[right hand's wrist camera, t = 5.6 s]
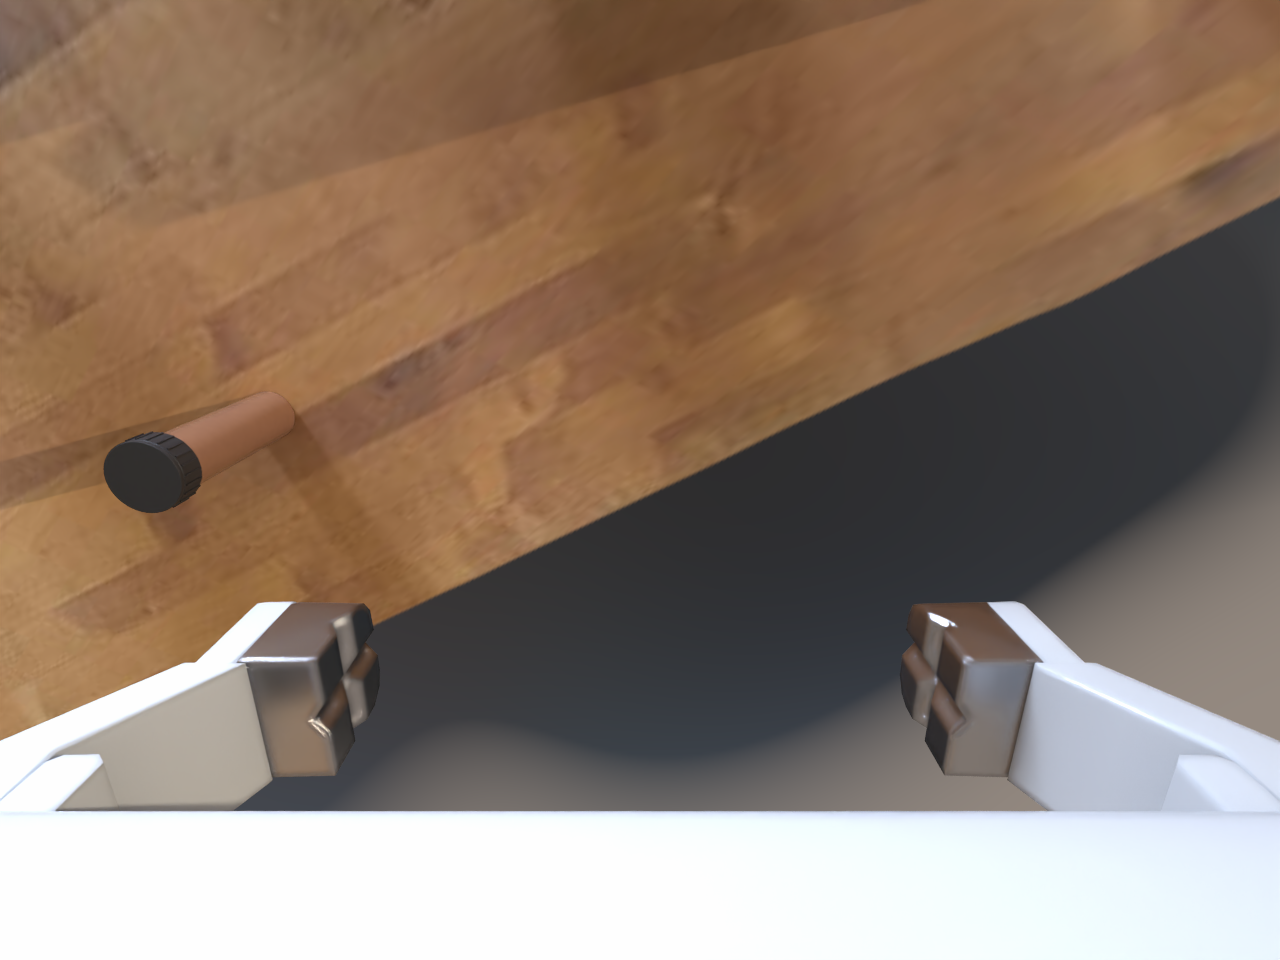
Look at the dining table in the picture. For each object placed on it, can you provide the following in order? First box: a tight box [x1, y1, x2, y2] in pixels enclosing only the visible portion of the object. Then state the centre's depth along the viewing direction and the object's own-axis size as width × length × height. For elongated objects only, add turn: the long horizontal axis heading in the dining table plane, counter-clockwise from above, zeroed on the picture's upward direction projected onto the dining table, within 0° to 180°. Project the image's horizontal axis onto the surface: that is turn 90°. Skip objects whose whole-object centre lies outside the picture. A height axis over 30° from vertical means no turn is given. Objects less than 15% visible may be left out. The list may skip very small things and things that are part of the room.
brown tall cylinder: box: [164, 392, 295, 484], centre depth 51 cm, size 4×4×16 cm
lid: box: [104, 432, 202, 513], centre depth 44 cm, size 5×5×2 cm
